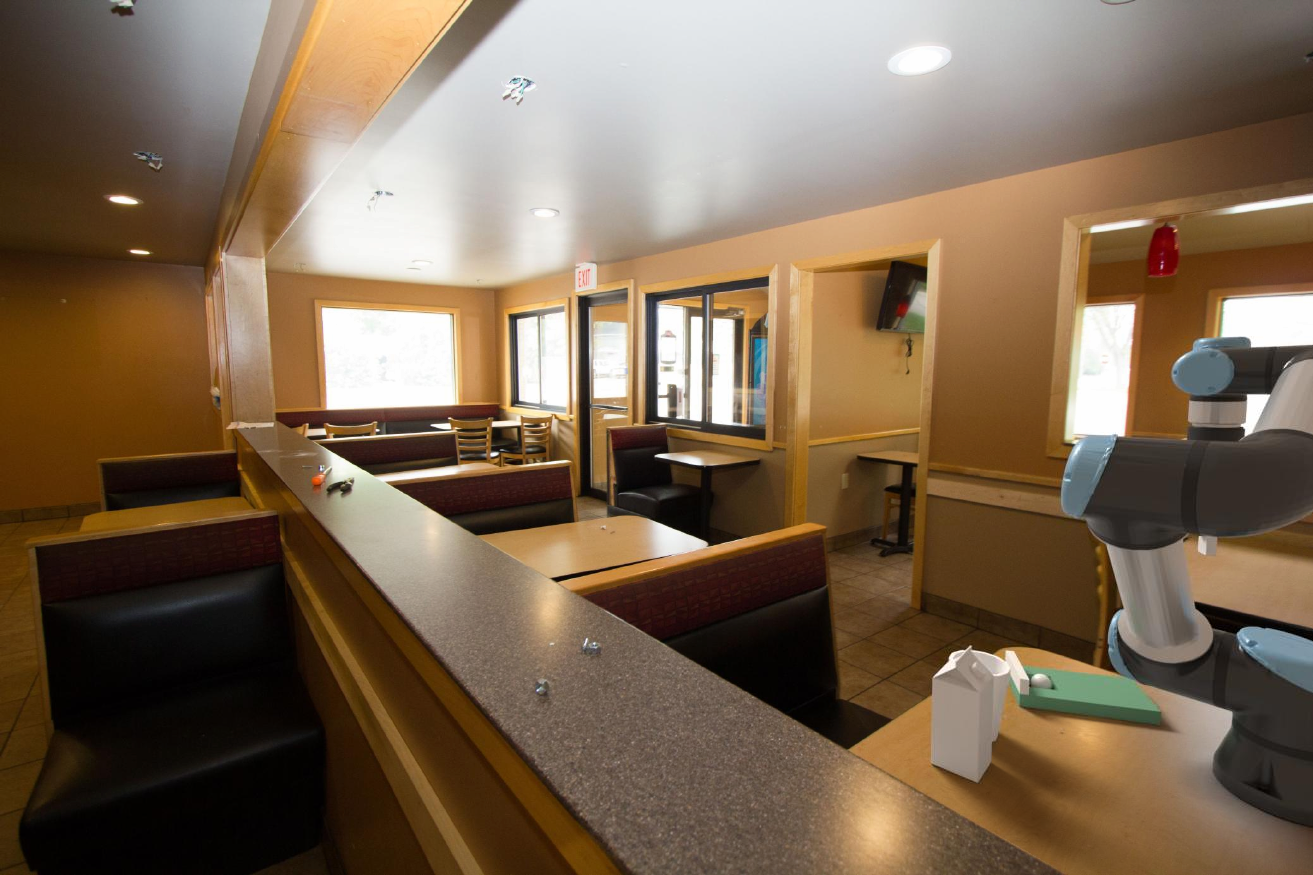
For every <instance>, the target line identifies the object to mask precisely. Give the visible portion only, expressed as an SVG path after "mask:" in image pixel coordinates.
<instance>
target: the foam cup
mask: <svg viewBox="0 0 1313 875" xmlns="http://www.w3.org/2000/svg"><path fill="white" fill-rule="evenodd" d="M965 651H966V649H965V650H964V649H961V650H958V651H954V652H951V654H950V655H949V657H948V662H949V661H951V660H953V659H956V658H958V657H960V656H961V655H962V654H963V653H964V652H965ZM971 652H972V653H973V654H974V655H975V656H976V657H977V658H978V659H979V660H980V661H981V663H982V664H983V665H984V666H985V667H986V668H987V669H988V670H989V671H990V672H991V673H992V674H993V676H994V688H993V720H992V743H994V742H996V741H997V739H998V735H999V732H1000V727H1001V721H1002V716H1003V713H1004V706H1005V701H1006V696H1007V692H1008V686H1009V682H1010V667H1009V665H1008V664H1007V662H1006V661H1005V660H1004V659H1002V658H1000V657H999V656H997V655H994V654H991V653H989V652H988V653H987V652H985V651H979V650H973V649H971Z"/></svg>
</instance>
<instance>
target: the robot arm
mask: <svg viewBox="0 0 1313 875" xmlns="http://www.w3.org/2000/svg"><path fill="white" fill-rule="evenodd" d="M1171 379H1172V382H1173V383H1174V385H1175V386H1176V387H1177V388H1178V389H1179V390H1181V391H1182V392H1184V393H1186V394H1188V395H1189V402H1188V419H1187V421H1188V422H1189V423H1191V424H1190V425H1188V426H1187V429H1186V439H1182V438H1181V439H1180V438H1159V437H1141V436H1140V437H1137V436H1119V435H1118V434H1116V433H1113V434H1110V435H1108V434H1107V435H1106V434H1104V435H1102V434H1100V435H1099V434H1097V435H1095V434H1094V435H1093V434H1092V435H1086V436H1084V437H1081V438H1080V439H1079V440H1078V441H1077V442H1076V443H1075V444H1074V446H1073V447H1072V450H1071V452H1070V454H1069V456H1068V458H1067V462H1066V465H1065V469H1064V473H1063V478H1062V484H1061V488H1060V489H1061V492H1060V505H1061V510H1062V512H1063V513H1064V514H1065V515H1067V516H1068V517H1069V516H1070V517H1074V519H1085V521H1086V525H1087V527H1088V529H1089V531H1090V532H1091V533H1092V535H1093V536H1094V537H1095V538H1097V540H1099V541H1100V542H1102V543H1103V544H1105V547H1106V549H1107V552H1108V556H1109V559H1110V562H1111V563H1110V564H1111V566H1112V570H1113V574H1114V578H1115V581H1116V585H1117V588H1118V592H1119V596H1120V598H1121V603H1122V606H1123V609H1120V610H1118V611H1117V612H1116V613H1115V614H1114V615H1113V617H1112V619H1111V621H1110V625H1109V628H1108V634H1107V644H1108V646H1109V647H1108V656H1109V659H1110V661H1111V662H1110V663H1111V664H1112V666H1113V668H1114V670H1116V672H1117V673H1118V674H1120V675H1121V677H1124V678H1129V679H1132V680H1134V681H1135V682H1136V683H1137V684H1138V683H1139V684H1140V685H1143V686H1147V687H1153V688H1156V689H1159V690H1162V691H1165V692H1168V693H1172V694H1175V695H1178V696H1181V697H1184V698H1188V699H1191V700H1195V701H1199V702H1201V703H1204V704H1208V705H1211V706H1214V707H1215V708H1218V709H1219V708H1220V709H1223V710H1227V711H1229V712H1232V717H1231V726H1230V728H1229V730H1228V731H1227V733H1226V734H1225V736H1224V737H1223V739H1222V741H1221V742H1220V743H1219V746H1218V748H1217V749H1216V750H1215V752H1214V754H1213V758H1212V773H1213V775H1214V778H1215V779H1216V780H1217V781H1218V782H1219V783H1220V784H1221V785H1222V786H1223V787H1224V788H1225V789H1226V790H1227V791H1229V792H1230V793H1231V794H1233V795H1234V796H1236V797H1237V798H1239V799H1241V800H1242V801H1244V802H1246V803H1247V804H1250V805H1252V806H1253V807H1255V808H1257V809H1259V810H1261V811H1263V812H1265V813H1269V814H1271V815H1274V816H1276V817H1279V818H1281V819H1284V820H1287V821H1291V822H1294V823H1297V824H1301V825H1305V826H1309V827H1313V641H1312V640H1310V639H1307V638H1304V637H1302V636H1299V635H1296V634H1293V633H1290V632H1289V633H1288V632H1286V631H1281V630H1277V629H1273V628H1268V627H1266V628H1262V627H1259V626H1247V627H1246V626H1245V627H1243V628H1241V629H1240V630H1239V631H1238V632H1237V633H1232V632H1227V631H1223V630H1220V629H1215V628H1212V625H1211V624H1210V622H1209V620H1208V619H1207V618H1206V616H1205V615H1204V614H1203V613H1202V612H1200V611H1199V610H1198V609H1196V606H1195V605H1196V604H1195V600H1194V599H1195V598H1194V593H1193V587H1192V584H1191V577H1190V572H1189V566H1188V562H1187V554H1186V550H1185V545H1184V544H1185V543H1184V539H1185V538H1187V536H1188V535H1189V534H1190V535H1196V536H1198V541H1197V542H1198V544H1197V552H1198V553H1201V554H1202V555H1204V556H1208V557H1209V556H1211V557H1216V556H1217V548H1218V538H1224V539H1230V538H1231V539H1234V538H1245V537H1250V536H1258V535H1261V534H1264V533H1265V534H1266V533H1268V532H1272V531H1276V530H1279V529H1281V528H1284V527H1286V526H1288V525H1290V524H1293V523H1297V522H1298V521H1299V520H1302V519H1303V518H1306V517H1307V516H1309V515H1311V514H1312V513H1313V344H1301V345H1300V344H1299V345H1298V344H1297V345H1283V346H1282V345H1280V346H1279V345H1278V346H1277V345H1276V346H1275V345H1274V346H1252V341H1251V339H1250V338H1249V337H1247V336H1223V337H1222V336H1221V337H1205V338H1198V339H1197V340H1195V341H1194V342H1193V344H1192V350H1191V351H1189V352H1186V353H1184V354H1183V355H1182V356H1180V357H1179V358H1178V359H1177V360H1176V361H1175V363H1174V364H1173V366H1172V370H1171ZM1248 395H1249V396H1250V395H1263V396H1264V395H1268V396H1269V397H1268V399H1267V402H1266V403H1265V405H1264V408H1263V409H1262V411H1261V413H1260V415H1259V417H1258V419H1257V422H1256V423H1255V426H1253V427H1254V428H1253V430H1252V432H1251V433H1249V434H1247V435H1246V428H1245V427H1244V426H1242V425H1244V424H1246V423H1247V411H1248Z"/></svg>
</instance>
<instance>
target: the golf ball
mask: <svg viewBox="0 0 1313 875" xmlns="http://www.w3.org/2000/svg"><path fill="white" fill-rule="evenodd" d="M1031 684H1032V686H1031V687H1034V688H1043V689H1051V688H1052V683H1051V680H1050V679H1049V678H1048V677H1047V676H1045V675H1043V674H1036V675H1034V676H1033V677H1032V679H1031Z"/></svg>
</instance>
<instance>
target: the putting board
mask: <svg viewBox="0 0 1313 875" xmlns="http://www.w3.org/2000/svg"><path fill="white" fill-rule="evenodd" d="M1004 657H1005V660H1004V661H1006V662H1007V664H1008V665H1009V667H1010V682H1009V684H1010V685H1009V684H1008V685H1009V687H1010V686H1011V687H1010V689H1011V692H1012V691H1013V692H1012V694H1013V693H1014V694H1013V695H1014V698H1015V697H1016V698H1015V700H1016V702H1017V704H1018V706H1019V707H1024V708H1029V709H1037V710H1046V711H1052V712H1059V713H1066V714H1074V715H1082V716H1089V717H1097V718H1106V719H1112V720H1113V719H1114V720H1120V721H1127V722H1134V723H1135V722H1136V723H1143V724H1151V725H1156V726H1157V725H1158V726H1161V720H1162V719H1161V717H1162V711H1161V709H1159V708H1158V706H1157V705H1156V704H1155V703H1154V702H1153V701H1152V699H1151V698H1150V697H1149V696H1148V695H1147V694H1146V693H1145V691H1144V690H1143V689H1142V688H1141V687H1140V685H1139V684H1138V682H1136V681H1135V680H1134V681H1133V680H1132V679H1129V678H1126V677H1124V676H1114V675H1106V674H1105V675H1104V674H1096V673H1087V672H1079V671H1071V670H1070V671H1069V670H1063V669H1052V668H1043V667H1034V666H1027V665H1022V663H1021V662H1020V660H1019V658H1018V656H1017V654H1016V653H1015V651H1014V650H1005V656H1004ZM1036 674H1043V675H1045V676H1047V677H1048V678H1049V679H1050V680H1051V683H1052V688H1051V689H1043V688H1034V687H1032V686H1029V685H1032V684H1031V679H1032V677H1033V676H1034V675H1036ZM1123 677H1124V678H1123Z"/></svg>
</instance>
